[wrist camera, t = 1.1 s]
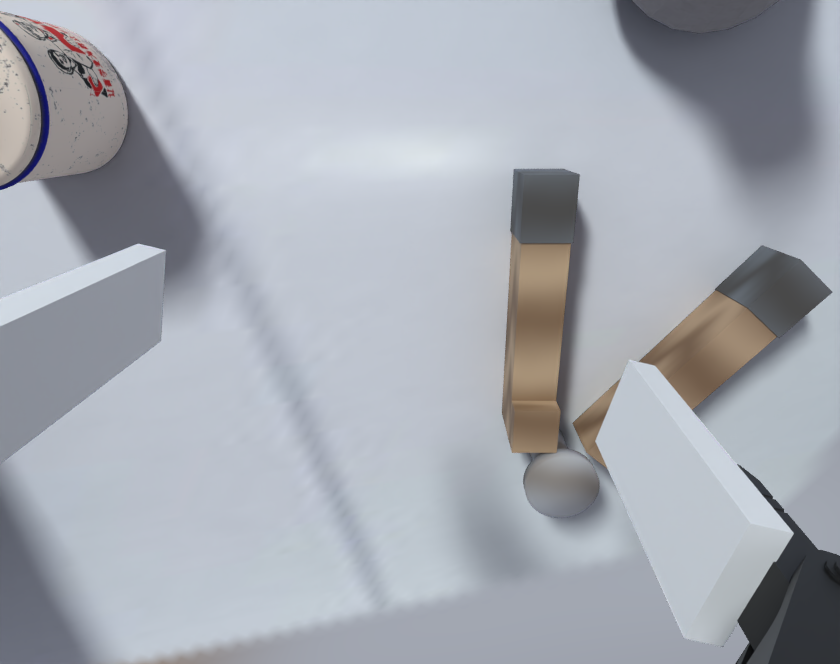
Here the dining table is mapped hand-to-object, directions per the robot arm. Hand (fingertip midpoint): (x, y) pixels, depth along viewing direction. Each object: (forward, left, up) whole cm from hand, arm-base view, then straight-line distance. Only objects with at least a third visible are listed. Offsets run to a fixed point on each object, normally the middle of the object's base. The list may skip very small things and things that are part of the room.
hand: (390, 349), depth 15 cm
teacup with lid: (-9, +23, -23) cm, 34 cm away
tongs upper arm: (0, -13, -23) cm, 26 cm away
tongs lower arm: (+3, -20, -23) cm, 31 cm away
